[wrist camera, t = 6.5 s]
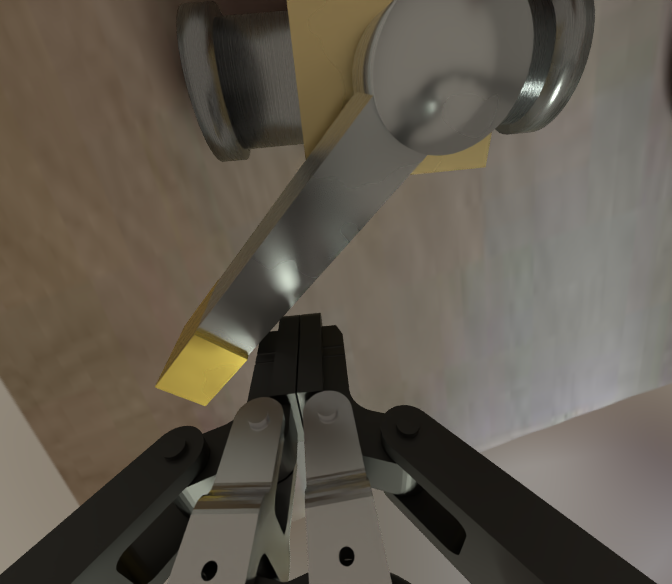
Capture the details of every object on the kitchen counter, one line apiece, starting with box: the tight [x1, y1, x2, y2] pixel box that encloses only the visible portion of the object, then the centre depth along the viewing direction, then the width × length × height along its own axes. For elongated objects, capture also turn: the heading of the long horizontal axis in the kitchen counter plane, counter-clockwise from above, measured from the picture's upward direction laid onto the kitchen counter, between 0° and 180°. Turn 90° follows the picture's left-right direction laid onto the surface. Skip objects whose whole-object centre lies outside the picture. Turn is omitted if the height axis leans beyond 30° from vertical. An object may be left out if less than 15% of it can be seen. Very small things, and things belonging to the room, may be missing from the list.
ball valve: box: [177, 0, 595, 175], centre depth 13 cm, size 14×6×8 cm, turn 94°
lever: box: [155, 0, 534, 406], centre depth 10 cm, size 14×3×3 cm, turn 140°
